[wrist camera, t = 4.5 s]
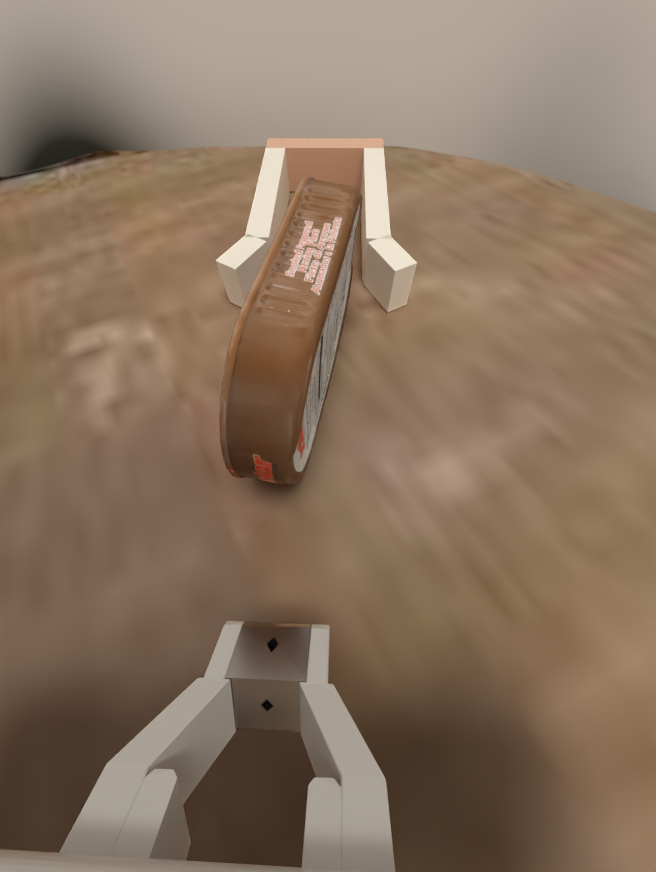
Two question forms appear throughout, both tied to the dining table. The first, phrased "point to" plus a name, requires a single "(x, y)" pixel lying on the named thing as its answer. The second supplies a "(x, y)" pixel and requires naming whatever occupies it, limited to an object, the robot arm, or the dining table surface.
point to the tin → (289, 336)
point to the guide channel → (329, 162)
